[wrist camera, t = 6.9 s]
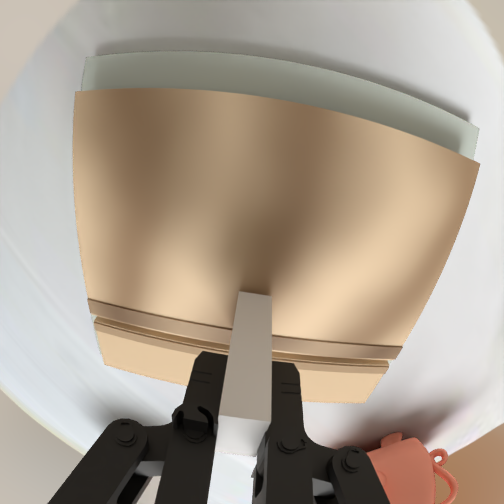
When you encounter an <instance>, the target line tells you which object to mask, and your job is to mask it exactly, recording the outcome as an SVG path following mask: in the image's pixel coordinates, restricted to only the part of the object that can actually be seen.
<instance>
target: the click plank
mask: <svg viewBox="0 0 504 504" xmlns="http://www.w3.org/2000/svg"><path fill="white" fill-rule="evenodd" d="M479 167H480V163H478V162H476V161H473V160H471V159H469V158H467V157H465V156H463V155H461V154H458V153H456V152H454V151H452V150H449V149H447V148H445V147H442V146H440V145H437V144H435V143H432V142H430V141H427V140H425V139H422V138H420V137H417V136H414V135H411V134H409V133H406V132H403V131H400V130H397V129H394V128H391V127H388V126H385V125H382V124H379V123H376V122H372V121H369V120H366V119H362V118H359V117H355V116H351V115H348V114H344V113H340V112H336V111H332V110H328V109H324V108H319V107H315V106H310V105H305V104H300V103H295V102H290V101H285V100H279V99H273V98H267V97H260V96H253V95H246V94H238V93H229V92H219V91H208V90H194V89H174V88H121V89H101V90H88V91H77V92H75V104H74V120H73V184H74V201H75V213H76V224H77V233H78V241H79V249H80V256H81V262H82V268H83V274H84V280H85V285H86V290H87V295H88V299H87V300H88V305H89V309H90V313H91V314H92V315H95V316H99V317H102V318H106V319H110V320H114V321H117V322H121V323H125V324H129V325H133V326H137V327H142V328H146V329H150V330H154V331H159V332H164V333H168V334H173V335H178V336H183V337H188V338H193V339H198V340H203V341H209V342H215V343H221V344H227V345H230V342H231V336H232V330H233V324H234V318H235V312H236V306H237V300H238V294H239V291H241V292H248V293H254V294H261V295H267V296H272V351H275V352H283V353H292V354H302V355H312V356H323V357H336V358H351V359H370V360H394V359H396V357H397V356H398V354H399V353H400V351H401V349H402V348H403V347H402V346H403V344H404V342H405V341H406V339H407V337H408V336H409V334H410V332H411V331H412V329H413V327H414V325H415V324H416V322H417V320H418V318H419V316H420V315H421V313H422V311H423V309H424V307H425V305H426V303H427V301H428V299H429V297H430V295H431V293H432V291H433V289H434V287H435V285H436V283H437V281H438V279H439V277H440V275H441V273H442V270H443V268H444V266H445V264H446V261H447V259H448V257H449V254H450V252H451V250H452V247H453V245H454V242H455V240H456V237H457V235H458V232H459V229H460V227H461V224H462V221H463V218H464V216H465V213H466V210H467V207H468V204H469V201H470V198H471V194H472V191H473V188H474V185H475V181H476V178H477V174H478V170H479Z"/></svg>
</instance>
